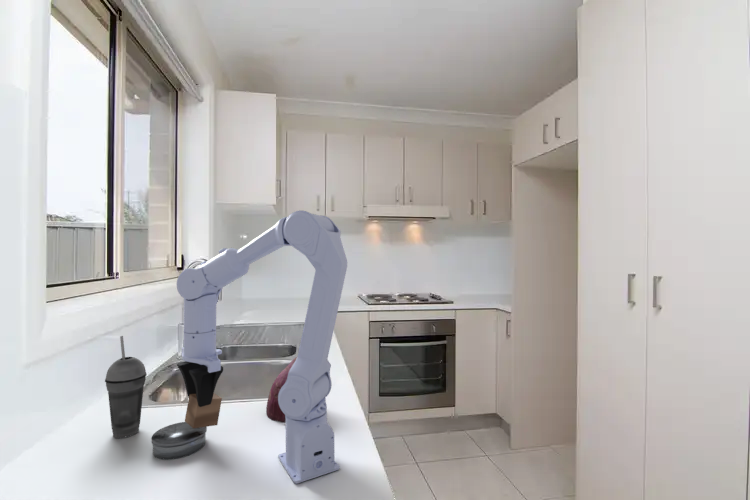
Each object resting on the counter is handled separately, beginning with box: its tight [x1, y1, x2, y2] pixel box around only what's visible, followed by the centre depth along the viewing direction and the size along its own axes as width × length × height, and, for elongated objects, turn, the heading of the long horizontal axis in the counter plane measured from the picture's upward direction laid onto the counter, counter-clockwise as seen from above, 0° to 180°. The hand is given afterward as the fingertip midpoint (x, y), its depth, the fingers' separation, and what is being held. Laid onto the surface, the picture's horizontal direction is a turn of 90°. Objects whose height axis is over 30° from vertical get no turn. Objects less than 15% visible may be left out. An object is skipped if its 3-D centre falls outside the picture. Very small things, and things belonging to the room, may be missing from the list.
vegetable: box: [265, 356, 298, 423], centre depth 88 cm, size 10×10×15 cm
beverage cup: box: [104, 335, 147, 439], centre depth 77 cm, size 7×7×20 cm
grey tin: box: [150, 421, 208, 461], centre depth 72 cm, size 9×9×3 cm
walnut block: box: [184, 393, 223, 428], centre depth 72 cm, size 4×4×5 cm
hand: (199, 401), depth 72 cm, fingers open, 4 cm apart
